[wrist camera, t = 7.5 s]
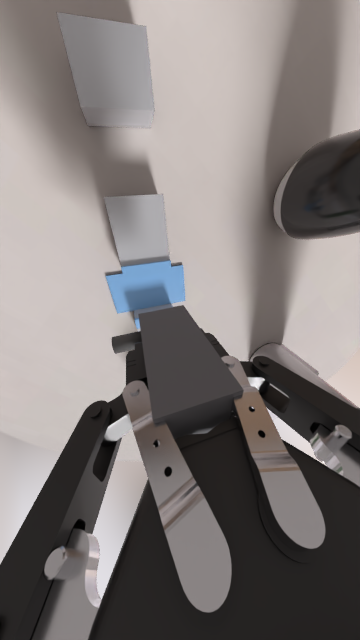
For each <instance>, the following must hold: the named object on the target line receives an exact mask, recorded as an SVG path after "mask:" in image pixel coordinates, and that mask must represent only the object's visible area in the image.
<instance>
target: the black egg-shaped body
mask: <svg viewBox="0 0 360 640" xmlns="http://www.w3.org/2000/svg"><path fill="white" fill-rule="evenodd" d="M273 211H274V217H275V220H276V223H277V225H278V226H279V227H280V228H281V229H282V230H283V231H284V232H286V233H287V234H288V235H289V236H291V237H293V238H295V239H304V240H309V239H323V238H332V237H339V236H344V235H350V234H354V233H359V232H360V129H359V130H355V131H351V132H347V133H344V134H340V135H337V136H334V137H331V138H329V139H326V140H324V141H322V142H320V143H318V144H316V145H315V146H313V147H312V148H311V149H309V150H308V151H307V152H306V153H305V154H304V155H303V156H302V157H301V158H300V159H299V160H298V161H297V162H296V163H295V164H294V165H293V166H292V167H291V168H290V169H289V171H288V172H287V173H286V174H285V176H284V178H283V179H282V181H281V183H280V185H279V187H278V189H277V192H276V195H275V199H274V207H273Z"/></svg>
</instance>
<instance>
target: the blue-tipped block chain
mask: <svg viewBox="0 0 360 640" xmlns="http://www.w3.org/2000/svg"><path fill="white" fill-rule="evenodd" d="M56 13H57V17H58V20H59V24H60V28H61V32H62V36H63V40H64V44H65V48H66V52H67V56H68V60H69V64H70V68H71V71H72V75H73V79H74V83H75V87H76V91H77V95H78V99H79V103H80V107H81V109H82V112H83V114H84V117H85V120H86V122H87V125H88V126H107V127H136V128H151V124H152V120H153V116H154V111H155V109H154V99H153V89H152V79H151V69H150V59H149V49H148V39H147V29H146V26H142V25H135V24H129V23H123V22H117V21H110V20H104V19H98V18H92V17H85V16H79V15H73V14H66V13H60V12H56ZM104 201H105V205H106V209H107V213H108V216H109V220H110V224H111V228H112V232H113V236H114V240H115V244H116V248H117V252H118V256H119V260H120V263H121V269H122V273H121V274H114V275H107V276H106V279H107V282H108V285H109V288H110V291H111V295H112V298H113V301H114V304H115V307H116V310H117V313H123V312H128V311H133V310H134V318H135V323H136V327H137V330H138V332H139V331H141V330H140V323H139V316H138V314H141V313H146V312H151V311H156V310H161V309H166V308H172V307H173V306H172V305H171V303H176V302H181V301H185V288H184V272H183V265H178V266H171V261H170V257H169V247H168V238H167V228H166V218H165V208H164V198H163V194H153V195H133V196H112V197H104Z"/></svg>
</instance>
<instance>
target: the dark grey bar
mask: <svg viewBox="0 0 360 640" xmlns="http://www.w3.org/2000/svg"><path fill="white" fill-rule="evenodd" d="M138 316H139V323H140V330H141V331H139V332H134V333H130V334H125V335H120V336H116V337H112V346H113V350H114V352H115V354H116V353H120V352H125V351H129V350H133V349H135V343H138V342H142V345H143V352H144V359H145V367H146V374H147V381H148V389H149V396H150V403H151V411H152V418H153V422H154V424H155V423H158V422H161V421H164V420H165V422H166V424H167V426H168V428H169V430H170V432H171V434H172V436H173V438H174V439H176V438H179V437H181V436H184V435H187V434H205V433H208V432H209V431H210V430H212V429H213V428H214V427H216V426H217V425H218V424H220V423H221V422H223V421H225V420H228V419H229V418H230V412H231V406H232V400H233V397H236V396H239V395H242V394H243V391H244V389H243V388H242V387H241V385H240V384H239V382H238V381H237V380H236V378H235V377H234V375H233V374H232V373H231V371H230V370H229V368H228V367H227V366H226V364H225V363H224V361H223V360H222V359H221V357H220V356H219V355H218V353H217V352H216V350H215V349H214V348H213V346H212V345H211V343H210V342H209V341H208V339H207V338H206V336H205V335H204V334H203V332H202V331H201V329H200V328H199V327H198V325H197V324H196V322H195V321H194V320H193V318H192V317H191V315H190V314H189V313H188V311H187V310H186V308H185V307H184V306H183V305H182V306H177V307H172V308H166V309H161V310H156V311H151V312H146V313H141V314H138Z"/></svg>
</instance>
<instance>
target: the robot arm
mask: <svg viewBox="0 0 360 640" xmlns="http://www.w3.org/2000/svg"><path fill="white" fill-rule="evenodd" d="M200 329H201V328H200ZM201 331H202V332H203V334H204V335H205V336H206V338H207V339H208V341H209V342H210V343H211V345H212V346H213V348H214V349H215V350H216V352H217V353H218V355H219V356H220V357H221V359H222V360H223V361H224V363H225V364H226V366H227V367H228V368H229V370H230V371H231V373H232V374H233V375H234V377H235V378H236V380H237V381H238V382H239V384H240V385H241V387H242V388H243V389H244V391H243V394H242V395H239V396H236V397H233V400H232V406H231V412H230V418H229V419H228V420H225V421H223V422H221V423H220V424H218V425H217V426H216V427H214V428H213V429H212V430H210V431H209V432H208V433H205V434H187V435H184V436H181V437H179V438H176V439H174V438H173V436H172V434H171V432H170V430H169V428H168V426H167V424H166V422H165V420H164V421H161V422H158V423H155V424H154V422H153V418H152V411H151V403H150V396H149V389H148V381H147V374H146V367H145V359H144V352H143V345H142V342H138V343H135V350H133V351H129V352H128V354H127V356H126V387H125V388H124V390H123V392H122V394H121V395H120V396H118V397H117V398H115V399H114V400H112V401H110V402H109V403H107V402H106V401H97V402H94V403H93V404H91V405H90V406H89V407H88V408H87V409H86V410H85V411H84V413H83V415H82V417H81V418H80V420H79V422H78V424H77V426H76V428H75V429H74V431H73V433H72V435H71V437H70V439H69V440H68V442H67V444H66V446H65V448H64V449H63V451H62V453H61V455H60V457H59V459H58V460H57V462H56V464H55V466H54V468H53V470H52V471H51V473H50V475H49V477H48V479H47V481H46V482H45V484H44V486H43V488H42V490H41V492H40V493H39V495H38V497H37V499H36V501H35V502H34V504H33V506H32V508H31V510H30V511H29V513H28V515H27V517H26V519H25V521H24V522H23V524H22V526H21V528H20V530H19V532H18V534H17V535H16V537H15V539H14V541H13V542H12V545H11V546H10V548H9V550H8V552H7V553H6V556H5V557H4V559H3V561H2V563H1V564H0V640H360V408H359V407H357V406H356V405H355V404H354V403H352V402H351V401H350V400H348V399H347V398H346V397H344V396H343V395H342V394H341V393H339V392H338V391H337V390H335V389H334V388H333V387H332V386H330V385H329V384H328V383H327V382H325V381H324V380H323V379H321V378H320V377H319V376H318V374H319V373H318V371H317V370H316V369H314V368H313V367H312V366H310V365H309V364H308V363H306V362H305V361H304V360H302V359H301V358H300V357H298V356H297V355H296V354H294V353H293V352H292V351H290V350H289V349H288V348H287V347H285V346H284V345H283V344H281V345H278V344H276V343H270V344H266V345H264V346H262V347H261V348H259V349H258V350H257V351H256V352H255V353H254V354H253V355H252V357H251V359H250V362H243V361H239V360H238V359H237V358H235V357H233V356H229V354H228V353H227V352H226V351H225V349H224V348H223V347H222V346H221V344H219V342H218V341H217V339H216V338H215V337H214V336H213V335H212V334H210V333H205V332H204V331H203V330H202V329H201ZM266 407H267V408H268V409H269V410H270V411H272V412H273V413H274V414H275V415H277V416H278V417H279V418H280V419H281V420H283V421H284V422H285V423H286V424H288V425H289V426H290V427H291V428H292V429H294V430H295V431H296V432H297V433H298V434H300V435H301V436H302V437H303V438H305V439H306V440H307V441H308V442H309V443H310V444H311V446H312V449H313V450H314V454H315V456H316V458H317V459H318V460H320V461H321V462H324V463H325V464H326V465H327V466H325V465H324V464H322V463H320V462H319V461H317V460H315V459H314V458H312V457H310V456H309V455H307V454H305V453H304V452H302V451H300V450H299V449H297V448H295V447H294V446H292V445H290V444H289V443H287V442H286V441H284V440H282V439H281V437H280V435H279V433H278V431H277V429H276V427H275V425H274V423H273V421H272V419H271V416H270V414H269V412H268V410H267V408H266ZM132 429H133V432H134V435H135V438H136V441H137V444H138V447H139V451H140V454H141V457H142V460H143V463H144V466H145V469H146V472H147V475H148V480H147V483H146V486H145V488H144V491H143V494H142V496H141V499H140V501H139V504H138V507H137V509H136V512H135V514H134V517H133V520H132V522H131V525H130V527H129V530H128V533H127V536H126V538H125V541H124V543H123V546H122V548H121V551H120V554H119V556H118V559H117V562H116V564H115V567H114V569H113V572H112V575H111V578H110V580H109V583H108V585H107V588H106V590H105V593H104V596H103V598H102V600H101V598H100V596H99V594H98V591H97V584H96V576H97V567H98V562H99V554H100V553H99V551H100V549H99V543H98V540H97V538H96V537H95V536H94V535H92V533H93V530H94V526H95V523H96V520H97V517H98V514H99V510H100V507H101V504H102V501H103V497H104V494H105V491H106V487H107V484H108V481H109V478H110V475H111V471H112V468H113V465H114V462H115V459H116V455H117V452H118V449H119V446H120V442H121V439H122V437H123V436H124V435H125V434H127V433H128V432H129V431H131V430H132Z"/></svg>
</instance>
